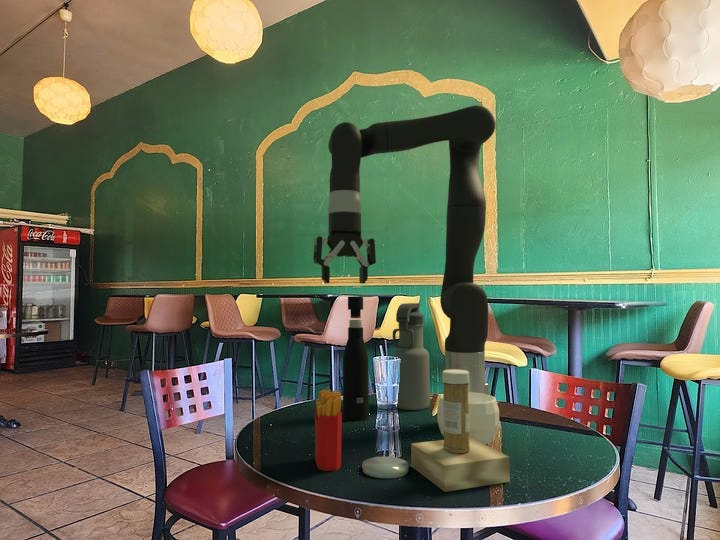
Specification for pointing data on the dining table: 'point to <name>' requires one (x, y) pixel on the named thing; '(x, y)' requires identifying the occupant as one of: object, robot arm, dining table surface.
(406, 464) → the pale grey dome
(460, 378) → the sprinkles bottle
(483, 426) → the cup
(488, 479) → the birch block
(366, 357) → the black bottle
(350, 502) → the dining table surface
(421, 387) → the water bottle
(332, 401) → the french fries
